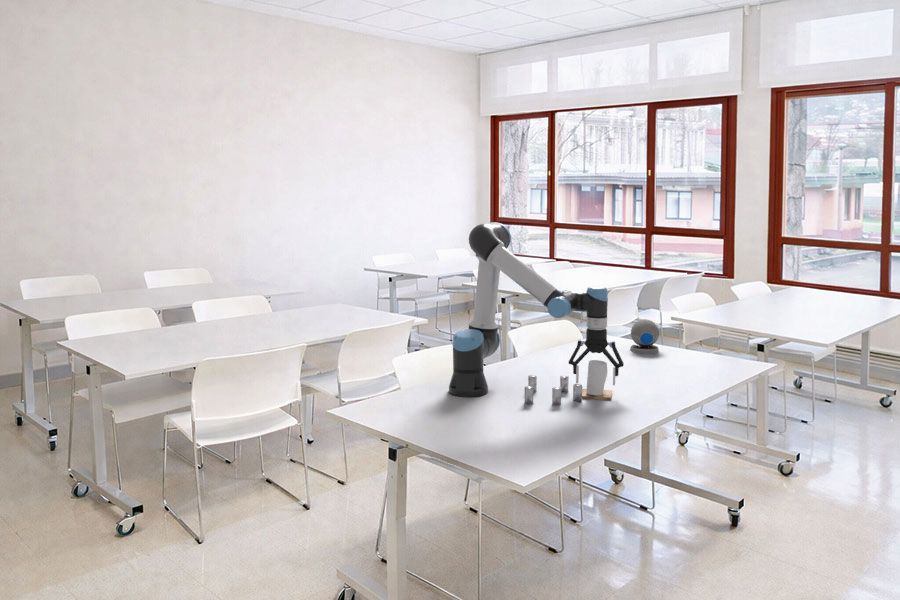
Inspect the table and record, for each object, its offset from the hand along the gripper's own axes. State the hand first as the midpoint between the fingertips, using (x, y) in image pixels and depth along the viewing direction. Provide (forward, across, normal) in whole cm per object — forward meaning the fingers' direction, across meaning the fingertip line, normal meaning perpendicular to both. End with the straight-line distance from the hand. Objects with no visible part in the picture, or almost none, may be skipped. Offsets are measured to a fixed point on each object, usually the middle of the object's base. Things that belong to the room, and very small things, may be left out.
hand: (595, 383), depth 281 cm
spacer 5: (+5, -6, -8) cm, 11 cm away
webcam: (+5, +18, +81) cm, 83 cm away
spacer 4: (+5, -12, +3) cm, 13 cm away
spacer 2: (+5, -23, -15) cm, 28 cm away
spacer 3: (+5, -13, -14) cm, 20 cm away
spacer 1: (+5, -24, +1) cm, 24 cm away
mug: (+4, +1, 0) cm, 4 cm away
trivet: (+5, 0, 0) cm, 5 cm away
